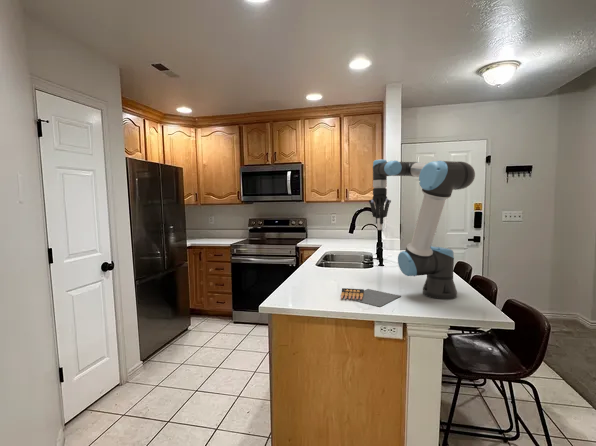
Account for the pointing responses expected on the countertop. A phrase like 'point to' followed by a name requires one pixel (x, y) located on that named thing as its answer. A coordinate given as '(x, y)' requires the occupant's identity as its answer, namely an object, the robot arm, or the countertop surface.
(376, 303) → the rubber mat
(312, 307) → the countertop surface
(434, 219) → the robot arm
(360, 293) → the ammunition clip
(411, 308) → the countertop surface
